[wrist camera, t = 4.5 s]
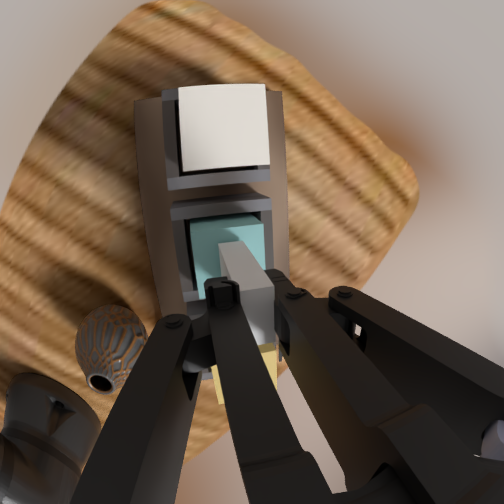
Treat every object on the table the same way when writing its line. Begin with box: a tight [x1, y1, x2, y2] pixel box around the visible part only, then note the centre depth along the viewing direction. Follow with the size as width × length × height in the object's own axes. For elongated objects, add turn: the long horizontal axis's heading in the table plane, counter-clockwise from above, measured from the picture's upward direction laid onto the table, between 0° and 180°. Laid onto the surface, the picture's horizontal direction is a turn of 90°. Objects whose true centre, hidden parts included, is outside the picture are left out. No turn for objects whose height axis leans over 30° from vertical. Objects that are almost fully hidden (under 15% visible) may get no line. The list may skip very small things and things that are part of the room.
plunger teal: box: [190, 212, 266, 299], centre depth 19 cm, size 4×4×5 cm
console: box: [134, 88, 289, 380], centre depth 22 cm, size 12×24×6 cm, turn 2°
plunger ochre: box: [211, 343, 277, 404], centre depth 20 cm, size 4×4×5 cm
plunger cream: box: [178, 84, 270, 172], centre depth 15 cm, size 4×4×5 cm
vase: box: [75, 305, 148, 394], centre depth 21 cm, size 7×7×9 cm
